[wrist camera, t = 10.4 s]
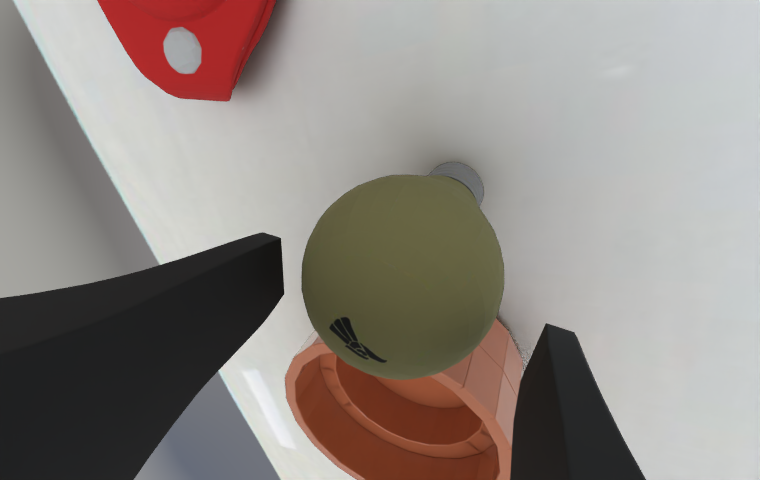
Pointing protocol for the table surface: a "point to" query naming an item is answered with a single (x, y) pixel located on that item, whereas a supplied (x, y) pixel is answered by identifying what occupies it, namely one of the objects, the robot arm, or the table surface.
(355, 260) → the light bulb
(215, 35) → the tracker holder
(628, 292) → the table surface
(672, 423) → the table surface
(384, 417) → the bowl
